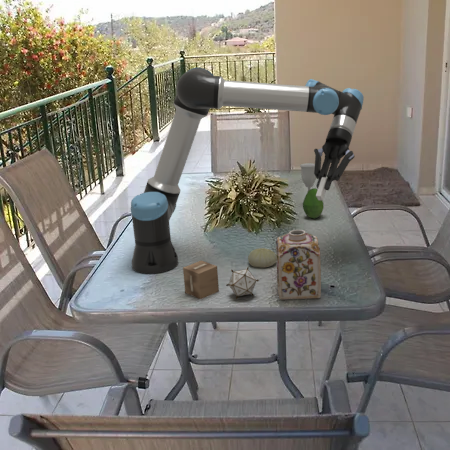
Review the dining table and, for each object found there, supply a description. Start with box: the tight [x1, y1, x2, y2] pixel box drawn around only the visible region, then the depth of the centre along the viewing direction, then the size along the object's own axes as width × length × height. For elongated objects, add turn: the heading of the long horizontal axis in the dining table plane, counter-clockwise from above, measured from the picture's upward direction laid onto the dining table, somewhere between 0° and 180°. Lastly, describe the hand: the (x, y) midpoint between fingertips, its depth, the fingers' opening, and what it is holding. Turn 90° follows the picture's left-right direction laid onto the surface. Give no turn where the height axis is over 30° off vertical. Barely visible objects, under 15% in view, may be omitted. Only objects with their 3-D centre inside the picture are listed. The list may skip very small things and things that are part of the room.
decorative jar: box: [275, 229, 322, 301], centre depth 165 cm, size 12×12×18 cm
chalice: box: [299, 163, 317, 193], centre depth 241 cm, size 7×7×18 cm
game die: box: [225, 266, 260, 300], centre depth 166 cm, size 9×8×10 cm
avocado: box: [302, 187, 324, 219], centre depth 229 cm, size 8×8×12 cm
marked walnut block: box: [182, 260, 220, 300], centre depth 170 cm, size 7×7×8 cm
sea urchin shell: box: [247, 247, 277, 269], centre depth 188 cm, size 9×8×8 cm
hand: (319, 198), depth 176 cm, fingers closed
